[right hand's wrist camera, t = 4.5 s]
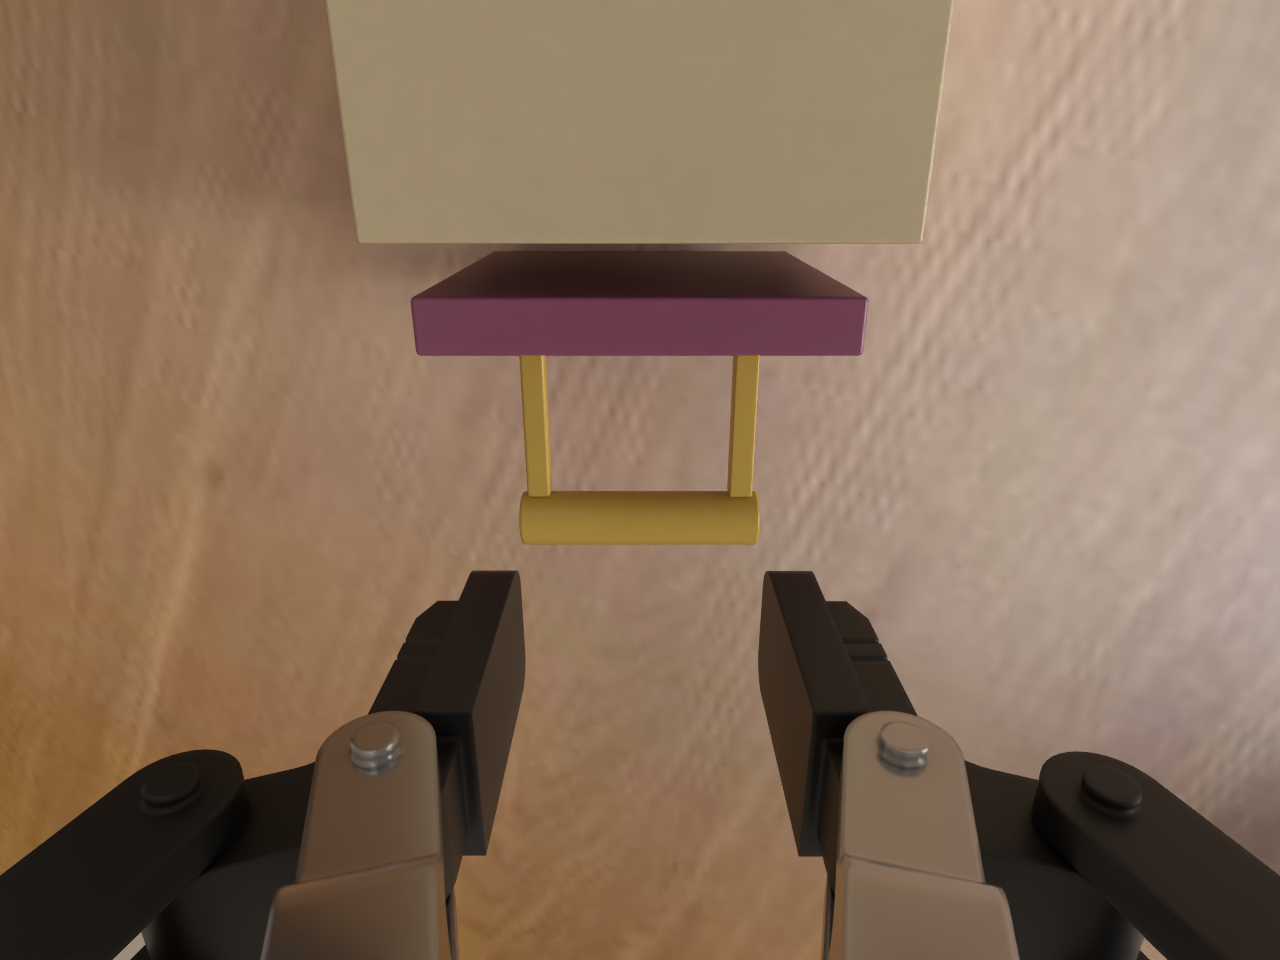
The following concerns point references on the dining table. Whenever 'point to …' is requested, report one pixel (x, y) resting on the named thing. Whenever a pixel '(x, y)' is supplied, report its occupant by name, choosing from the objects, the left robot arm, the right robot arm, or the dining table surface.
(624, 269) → the drawer
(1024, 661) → the dining table surface
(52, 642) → the dining table surface
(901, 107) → the cabinet
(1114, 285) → the dining table surface
